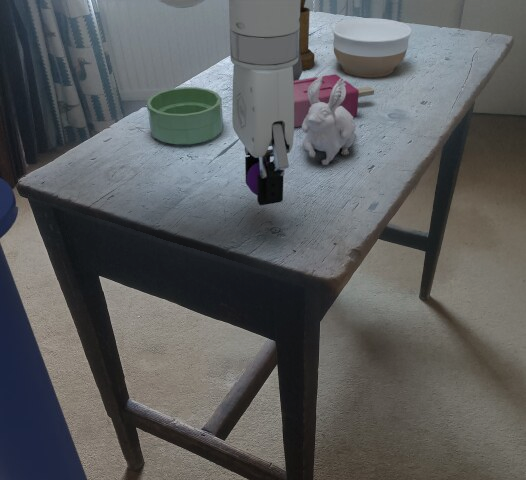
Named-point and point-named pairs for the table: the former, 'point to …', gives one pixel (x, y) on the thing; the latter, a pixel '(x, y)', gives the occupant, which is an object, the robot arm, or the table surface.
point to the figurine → (328, 122)
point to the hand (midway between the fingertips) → (263, 191)
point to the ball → (253, 177)
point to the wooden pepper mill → (305, 38)
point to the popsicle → (325, 96)
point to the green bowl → (185, 115)
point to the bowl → (370, 45)
